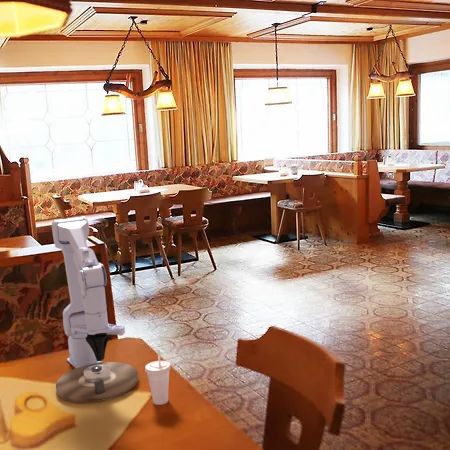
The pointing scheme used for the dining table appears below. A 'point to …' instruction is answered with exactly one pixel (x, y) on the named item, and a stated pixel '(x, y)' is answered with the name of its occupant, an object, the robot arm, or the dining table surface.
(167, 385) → the smoothie
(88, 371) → the cover
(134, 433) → the dining table surface
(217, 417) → the dining table surface
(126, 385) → the turntable
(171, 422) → the dining table surface
